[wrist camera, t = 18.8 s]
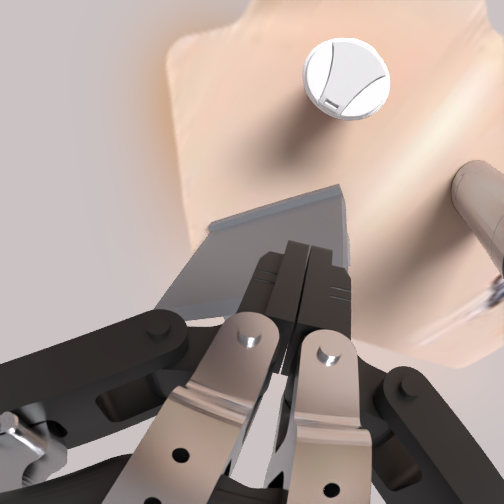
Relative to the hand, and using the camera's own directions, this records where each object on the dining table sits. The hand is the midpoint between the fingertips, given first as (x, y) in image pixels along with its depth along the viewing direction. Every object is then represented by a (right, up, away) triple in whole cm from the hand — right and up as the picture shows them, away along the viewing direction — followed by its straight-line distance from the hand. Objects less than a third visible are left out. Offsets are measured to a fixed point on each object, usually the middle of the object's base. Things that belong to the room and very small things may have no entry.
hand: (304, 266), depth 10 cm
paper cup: (+10, +22, +21) cm, 32 cm away
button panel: (+2, +5, +34) cm, 35 cm away
